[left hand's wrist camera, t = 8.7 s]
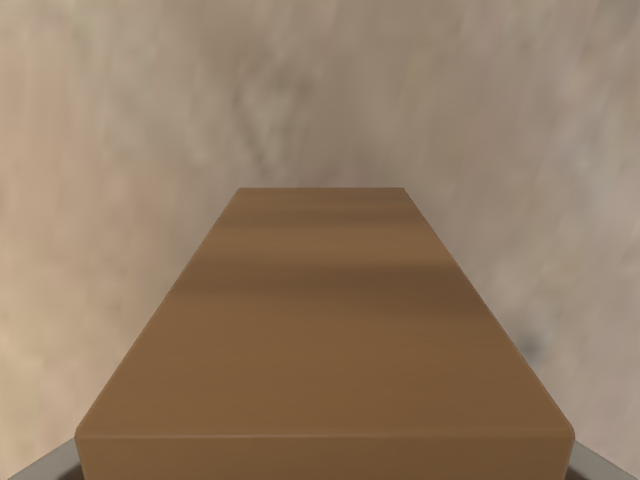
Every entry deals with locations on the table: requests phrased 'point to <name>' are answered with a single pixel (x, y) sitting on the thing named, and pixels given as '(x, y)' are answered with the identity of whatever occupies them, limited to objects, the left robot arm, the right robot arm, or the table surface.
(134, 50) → the table surface
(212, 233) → the bar
